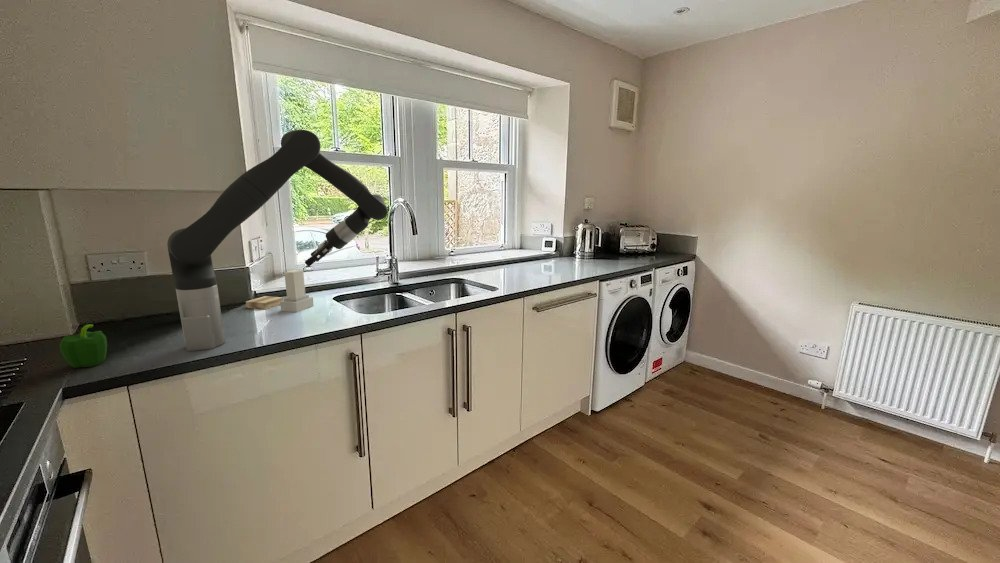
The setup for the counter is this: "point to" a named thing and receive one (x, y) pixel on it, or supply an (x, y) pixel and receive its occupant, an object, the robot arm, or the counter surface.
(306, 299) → the beige rectangular block
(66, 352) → the bell pepper
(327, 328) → the counter surface
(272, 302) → the wooden slatted coaster
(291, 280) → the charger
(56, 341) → the counter surface
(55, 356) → the counter surface
